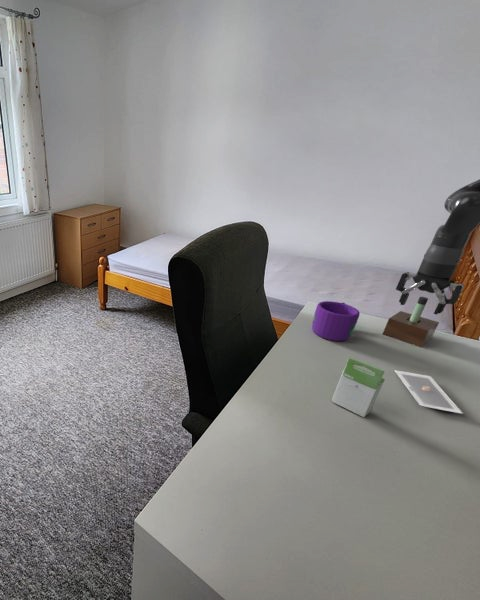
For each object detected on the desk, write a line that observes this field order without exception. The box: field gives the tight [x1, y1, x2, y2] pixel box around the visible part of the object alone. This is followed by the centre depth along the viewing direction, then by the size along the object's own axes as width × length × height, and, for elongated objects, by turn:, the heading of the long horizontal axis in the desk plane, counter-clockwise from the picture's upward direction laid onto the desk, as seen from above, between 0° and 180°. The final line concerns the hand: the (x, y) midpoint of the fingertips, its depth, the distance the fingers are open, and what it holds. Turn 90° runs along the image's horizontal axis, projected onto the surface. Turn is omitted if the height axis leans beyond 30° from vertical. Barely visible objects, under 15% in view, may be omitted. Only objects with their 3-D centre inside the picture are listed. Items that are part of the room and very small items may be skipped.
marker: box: [409, 296, 429, 323], centre depth 109 cm, size 2×2×14 cm
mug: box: [311, 300, 361, 342], centre depth 114 cm, size 17×11×10 cm, turn 134°
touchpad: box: [394, 369, 464, 414], centre depth 86 cm, size 8×15×2 cm, turn 158°
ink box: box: [331, 357, 386, 418], centre depth 80 cm, size 7×4×13 cm, turn 34°
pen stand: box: [382, 310, 440, 348], centre depth 111 cm, size 10×10×6 cm
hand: (418, 308), depth 108 cm, fingers open, 7 cm apart
